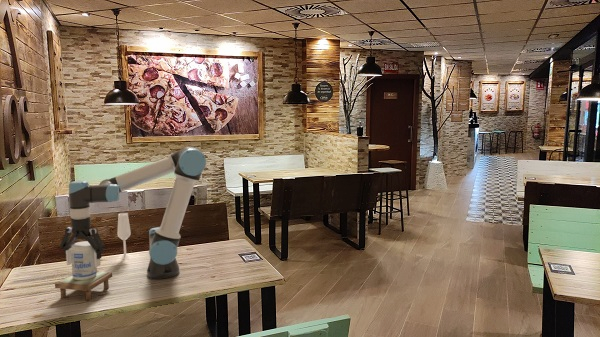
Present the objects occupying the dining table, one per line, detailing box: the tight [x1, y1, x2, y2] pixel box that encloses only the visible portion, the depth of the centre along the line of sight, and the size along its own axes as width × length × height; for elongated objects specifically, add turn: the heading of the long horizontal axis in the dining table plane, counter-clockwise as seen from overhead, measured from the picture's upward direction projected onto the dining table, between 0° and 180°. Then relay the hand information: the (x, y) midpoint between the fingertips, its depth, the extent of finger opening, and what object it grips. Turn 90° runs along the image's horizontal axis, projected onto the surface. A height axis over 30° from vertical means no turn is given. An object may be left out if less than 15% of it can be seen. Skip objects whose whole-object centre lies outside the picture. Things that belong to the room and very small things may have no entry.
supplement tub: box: [70, 240, 98, 280], centre depth 188 cm, size 10×10×15 cm
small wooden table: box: [54, 270, 113, 302], centre depth 190 cm, size 16×16×7 cm
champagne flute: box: [117, 212, 133, 260], centre depth 235 cm, size 7×7×24 cm
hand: (83, 265), depth 188 cm, fingers open, 13 cm apart
